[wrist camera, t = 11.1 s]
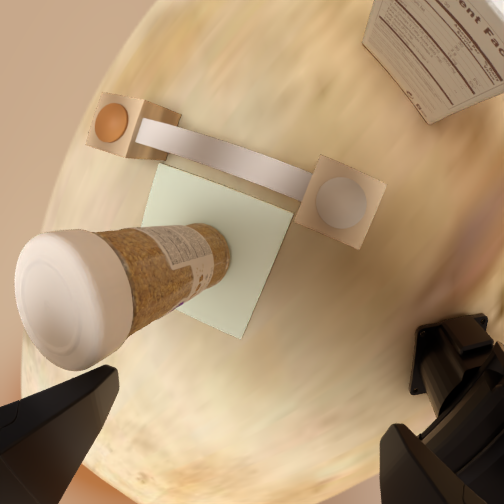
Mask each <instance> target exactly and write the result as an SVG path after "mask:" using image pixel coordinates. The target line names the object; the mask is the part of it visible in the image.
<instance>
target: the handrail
mask: <svg viewBox="0 0 504 504" xmlns="http://www.w3.org/2000/svg"><path fill="white" fill-rule="evenodd" d="M180 117H181V114H178V113H176V112H174V111H171V110H169V109H166V108H164V107H161V106H159V105H156V104H154V103H151V102H149V101H146V100H142V99H138V98H133V97H127V96H122V95H117V94H111V93H105V92H102V94H101V97H100V99H99V102H98V105H97V108H96V111H95V114H94V118H93V121H92V124H91V127H90V131H89V134H88V138H87V141H86V145H87V146H90V147H93V148H97V149H100V150H103V151H106V152H109V153H112V154H115V155H118V156H121V157H124V158H134V159H150V160H164V161H165V160H166V157H167V154H168V153H171V154H174V155H177V156H180V157H183V158H186V159H189V160H192V161H195V162H198V163H201V164H204V165H207V166H210V167H212V168H215V169H218V170H221V171H223V172H226V173H229V174H232V175H234V176H237V177H240V178H242V179H245V180H248V181H250V182H253V183H256V184H258V185H261V186H263V187H266V188H269V189H271V190H274V191H276V192H279V193H281V194H284V195H286V196H289V197H291V198H294V199H296V200H298V201H301V205H300V207H299V210H298V212H297V215H296V217H295V220H294V222H295V223H298V224H300V225H302V226H305V227H307V228H309V229H312V230H314V231H316V232H319V233H321V234H323V235H326V236H328V237H330V238H333V239H335V240H337V241H340V242H342V243H344V244H346V245H349V246H351V247H353V248H355V249H358V250H360V247H361V245H362V243H363V241H364V238H365V236H366V234H367V232H368V229H369V227H370V225H371V223H372V220H373V218H374V216H375V213H376V211H377V208H378V206H379V204H380V201H381V199H382V196H383V194H384V191H385V189H386V186H387V184H386V183H384V182H382V181H380V180H378V179H375V178H373V177H371V176H369V175H367V174H365V173H363V172H360V171H358V170H356V169H354V168H352V167H349V166H347V165H345V164H342V163H340V162H338V161H335V160H333V159H331V158H328V157H326V156H323V155H321V154H320V157H319V159H318V162H317V164H316V167H315V169H314V172H313V174H312V173H310V172H307V171H305V170H302V169H300V168H297V167H295V166H292V165H290V164H287V163H285V162H282V161H279V160H277V159H274V158H271V157H269V156H266V155H263V154H260V153H257V152H255V151H252V150H249V149H246V148H243V147H240V146H237V145H234V144H231V143H228V142H225V141H222V140H219V139H216V138H213V137H210V136H207V135H203V134H200V133H197V132H193V131H190V130H187V129H183V128H180V127H177V125H178V122H179V120H180Z"/></svg>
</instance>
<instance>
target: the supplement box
mask: <svg viewBox="0 0 504 504" xmlns="http://www.w3.org/2000/svg"><path fill="white" fill-rule="evenodd" d="M362 43H363V44H364V45H365V46H366V48H367V49H368V50H369V51H370V52H371V53H372V54H373V56H374V57H375V58H376V59H377V60H378V61H379V62H380V63H381V64H382V66H383V67H384V68H385V69H386V70H387V71H388V73H389V74H390V75H391V76H392V78H393V79H394V80H395V81H396V82H397V84H398V85H399V86H400V87H401V89H402V90H403V91H404V92H405V94H406V95H407V96H408V98H409V99H410V100H411V102H412V103H413V104H414V106H415V107H416V108H417V110H418V111H419V112H420V114H421V115H422V117H423V118H424V119H425V121H426V122H427V123H428V124H432V123H435V122H437V121H439V120H441V119H443V118H445V117H447V116H449V115H452V114H454V113H456V112H459V111H461V110H463V109H466V108H468V107H471V106H473V105H475V104H477V103H480V102H482V101H485V100H487V99H490V98H492V97H495V96H497V95H500V94H502V93H504V0H374V2H373V6H372V9H371V13H370V16H369V20H368V23H367V27H366V30H365V34H364V37H363V41H362Z"/></svg>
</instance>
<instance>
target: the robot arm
mask: <svg viewBox="0 0 504 504" xmlns="http://www.w3.org/2000/svg"><path fill="white" fill-rule="evenodd" d="M482 319H483V321H482V322H481V320H482ZM487 322H488V318H487V316H486V315H484V314H479V315H474V316H471V315H468V316H463V317H458V318H453V319H448V320H444V321H443V322H440V323H435V324H429V325H424V326H420V327H419V328H418V329H417V330H416V335H415V346H414V356H413V365H412V372H411V379H410V386H409V391H410V394H411V395H418V394H423V393H427V394H428V397H429V399H430V402H431V404H432V407H433V409H434V412H435V415H436V417H437V419H436V420H435V421H434V422H433V423H432V424H431V425H430V426H429V427H428V428H427V429H426V430H425V431H424V432H423V433H422V434H419V435H418V436H416V435H415V434H414V433H413V432H412V431H411V430H410V429H409V428H408V427H407V426H405V425H404V424H392V425H391V426H390V427H389V429H388V430H387V431H386V433H385V434H384V435H383V437H382V438H381V441H380V489H381V490H380V491H381V502H382V504H504V345H503V344H502V343H500V342H498V341H497V342H496V343H495V345H493V344H494V340H493V339H492V338H491V337H490V336H489V335H488V334H487V332H486V328H487ZM422 331H425V332H424V333H423V334H422V335H420V334H421V332H422ZM416 388H417V389H416ZM414 389H416V390H414ZM118 391H119V377H118V370H117V369H116V368H114V367H112V366H109V365H103V366H100V367H98V368H96V369H93V370H91V371H89V372H86V373H84V374H82V375H79V376H77V377H75V378H72V379H70V380H68V381H65V382H63V383H60V384H58V385H55V386H53V387H51V388H48V389H46V390H43V391H41V392H38V393H36V394H33V395H31V396H28V397H26V398H23V399H21V400H20V401H19V400H18V401H15V402H13V403H10V404H7V405H4V406H1V407H0V504H58V503H59V501H60V500H61V498H62V496H63V494H64V492H65V491H66V489H67V487H68V485H69V484H70V482H71V480H72V478H73V477H74V475H75V473H76V472H77V470H78V468H79V466H80V465H81V463H82V461H83V460H84V458H85V456H86V454H87V453H88V451H89V449H90V448H91V446H92V444H93V443H94V441H95V439H96V438H97V436H98V434H99V433H100V431H101V429H102V427H103V425H104V423H105V421H106V419H107V416H108V414H109V412H110V410H111V407H112V405H113V403H114V401H115V398H116V396H117V394H118Z"/></svg>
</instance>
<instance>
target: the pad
mask: <svg viewBox="0 0 504 504" xmlns="http://www.w3.org/2000/svg"><path fill="white" fill-rule="evenodd" d="M293 214H294V213H292V212H290V211H287V210H285V209H282V208H280V207H277V206H275V205H273V204H270V203H268V202H265V201H263V200H260V199H257V198H255V197H252V196H250V195H247V194H245V193H242V192H240V191H237V190H234V189H232V188H229V187H226V186H224V185H221V184H219V183H216V182H213V181H210V180H208V179H205V178H202V177H200V176H197V175H194V174H191V173H189V172H186V171H183V170H180V169H177V168H174V167H172V166H169V165H166V164H163V163H159V164H158V167H157V170H156V174H155V177H154V180H153V184H152V187H151V191H150V194H149V198H148V201H147V205H146V209H145V213H144V217H143V220H142V224H141V227H151V226H168V225H183V226H186V225H189V224H193V223H204V224H207V225H210V226H212V227H213V228H215V229H216V230H218V231H219V232H220V234H222V235H223V236H224V238H225V240H226V242H227V245H228V248H229V253H230V263H229V267H228V270H227V272H226V274H225V276H224V277H223V278H222V280H221V281H220V282H219V283H218V284H216V285H214V286H212V287H210V288H207V289H205V290H203V291H202V292H201V293H200V294H198V295H197V296H195V297H194V298H192V299H190V300H189V301H187V302H185V303H184V304H182V305H181V306H179V307H177V308H176V310H178V311H180V312H182V313H184V314H186V315H188V316H190V317H192V318H194V319H196V320H198V321H201V322H203V323H205V324H207V325H209V326H211V327H213V328H216V329H218V330H220V331H222V332H224V333H227V334H229V335H231V336H233V337H236V338H238V339H240V340H241V338H242V336H243V334H244V331H245V329H246V327H247V324H248V322H249V320H250V317H251V315H252V313H253V310H254V308H255V306H256V303H257V301H258V299H259V296H260V294H261V292H262V289H263V287H264V285H265V282H266V280H267V277H268V275H269V273H270V270H271V268H272V265H273V263H274V261H275V258H276V256H277V253H278V251H279V249H280V246H281V244H282V241H283V239H284V236H285V234H286V231H287V229H288V227H289V224H290V222H291V219H292V217H293Z"/></svg>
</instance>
